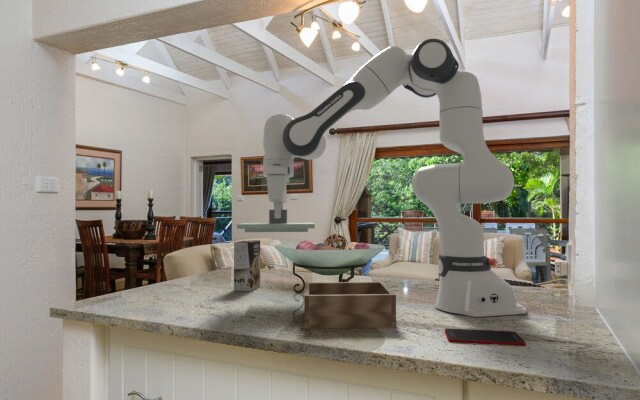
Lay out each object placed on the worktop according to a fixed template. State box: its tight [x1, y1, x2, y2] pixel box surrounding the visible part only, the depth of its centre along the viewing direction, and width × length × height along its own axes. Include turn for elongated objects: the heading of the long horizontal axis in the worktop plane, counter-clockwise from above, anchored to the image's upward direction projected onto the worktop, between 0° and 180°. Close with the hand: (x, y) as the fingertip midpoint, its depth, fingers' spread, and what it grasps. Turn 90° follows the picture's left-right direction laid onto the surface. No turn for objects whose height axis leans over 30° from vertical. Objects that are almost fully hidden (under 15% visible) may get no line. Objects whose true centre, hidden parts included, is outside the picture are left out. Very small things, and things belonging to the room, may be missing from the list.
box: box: [303, 281, 397, 329], centre depth 98 cm, size 20×16×8 cm
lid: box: [236, 209, 316, 233], centre depth 120 cm, size 21×17×6 cm
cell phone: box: [444, 328, 527, 347], centre depth 85 cm, size 8×15×1 cm, turn 80°
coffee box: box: [233, 239, 261, 292], centre depth 139 cm, size 9×6×16 cm
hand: (278, 218), depth 120 cm, fingers closed on lid, 2 cm apart
